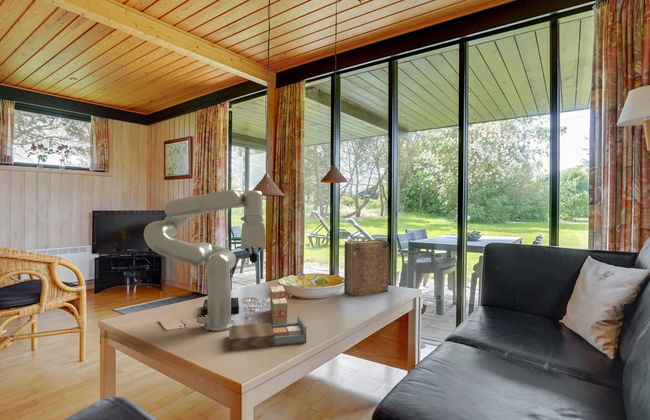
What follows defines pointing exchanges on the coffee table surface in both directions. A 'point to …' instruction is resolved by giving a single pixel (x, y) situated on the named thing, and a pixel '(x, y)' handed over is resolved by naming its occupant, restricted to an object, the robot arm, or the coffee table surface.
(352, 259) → the book
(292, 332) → the cream tile
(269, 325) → the walnut board
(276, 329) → the terracotta tile
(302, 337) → the box
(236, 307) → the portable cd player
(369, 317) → the coffee table surface
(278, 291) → the stack of blocks
